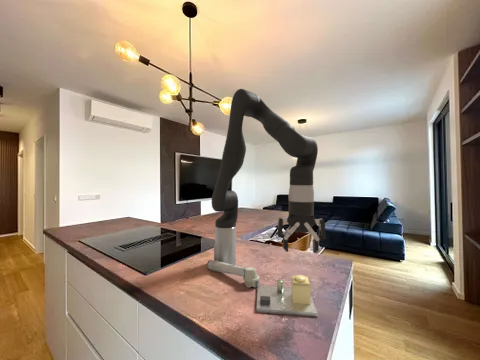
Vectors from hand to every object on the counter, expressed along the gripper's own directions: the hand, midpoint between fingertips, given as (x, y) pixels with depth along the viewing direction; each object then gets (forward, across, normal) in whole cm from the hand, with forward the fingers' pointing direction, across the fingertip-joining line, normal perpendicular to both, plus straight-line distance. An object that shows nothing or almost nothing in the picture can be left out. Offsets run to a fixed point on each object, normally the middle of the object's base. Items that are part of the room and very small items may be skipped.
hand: (300, 251), depth 64 cm
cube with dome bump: (+15, 0, 0) cm, 15 cm away
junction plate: (+16, -5, 0) cm, 16 cm away
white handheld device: (+16, -24, +14) cm, 32 cm away
